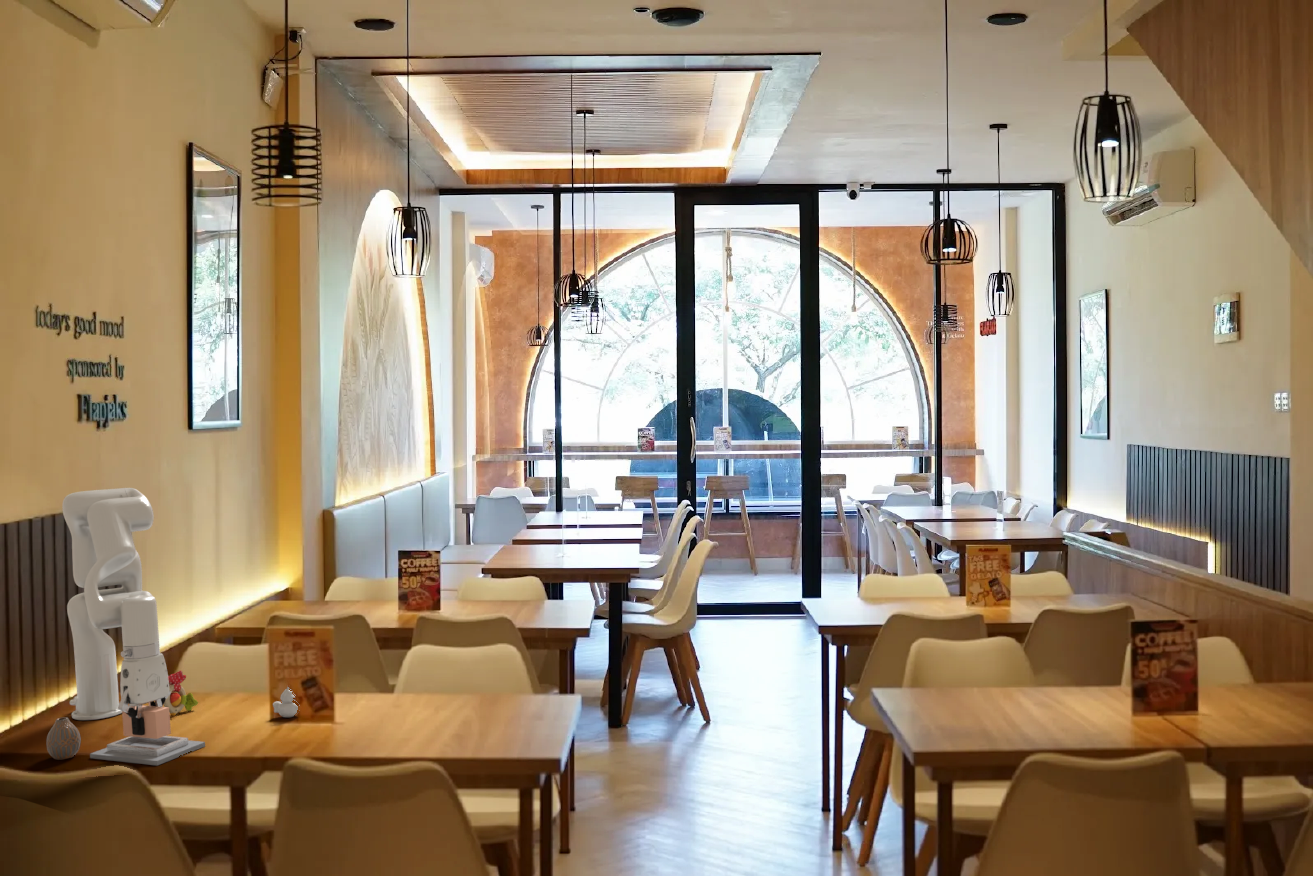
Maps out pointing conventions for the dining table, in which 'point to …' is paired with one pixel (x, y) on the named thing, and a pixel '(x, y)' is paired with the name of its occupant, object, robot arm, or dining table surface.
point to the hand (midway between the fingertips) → (147, 730)
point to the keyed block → (150, 722)
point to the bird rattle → (178, 695)
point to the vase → (63, 739)
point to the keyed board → (147, 749)
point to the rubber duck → (286, 704)
